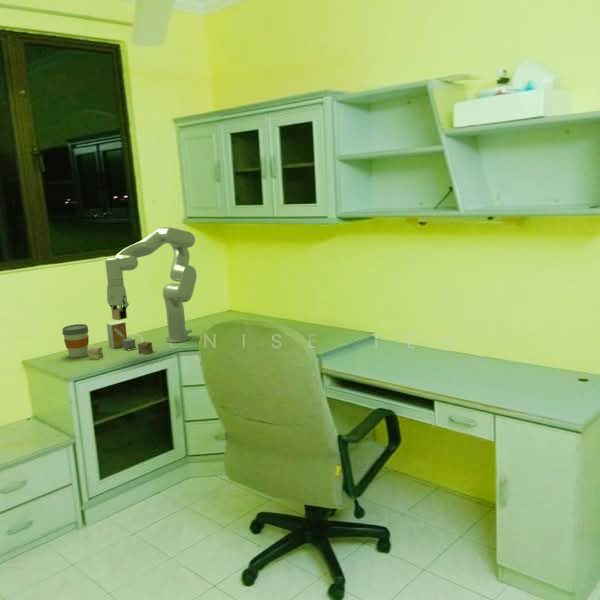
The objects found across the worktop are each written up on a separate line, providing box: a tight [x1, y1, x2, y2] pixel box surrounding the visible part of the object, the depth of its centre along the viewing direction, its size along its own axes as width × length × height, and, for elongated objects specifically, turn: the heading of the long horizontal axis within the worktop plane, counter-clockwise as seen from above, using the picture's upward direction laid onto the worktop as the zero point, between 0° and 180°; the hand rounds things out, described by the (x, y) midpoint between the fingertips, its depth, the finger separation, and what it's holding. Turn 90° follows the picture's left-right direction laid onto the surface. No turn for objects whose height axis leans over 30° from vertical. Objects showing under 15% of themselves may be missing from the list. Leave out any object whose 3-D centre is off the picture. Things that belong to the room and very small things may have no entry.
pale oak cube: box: [87, 346, 104, 360], centre depth 305 cm, size 5×5×5 cm
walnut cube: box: [137, 341, 153, 355], centre depth 310 cm, size 5×5×5 cm
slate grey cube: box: [122, 337, 137, 351], centre depth 318 cm, size 5×5×5 cm
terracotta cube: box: [111, 306, 128, 321], centre depth 301 cm, size 5×5×5 cm
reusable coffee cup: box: [62, 323, 90, 358], centre depth 310 cm, size 13×12×15 cm
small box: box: [106, 320, 128, 349], centre depth 324 cm, size 8×6×13 cm
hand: (119, 317), depth 301 cm, fingers closed on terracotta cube, 5 cm apart
